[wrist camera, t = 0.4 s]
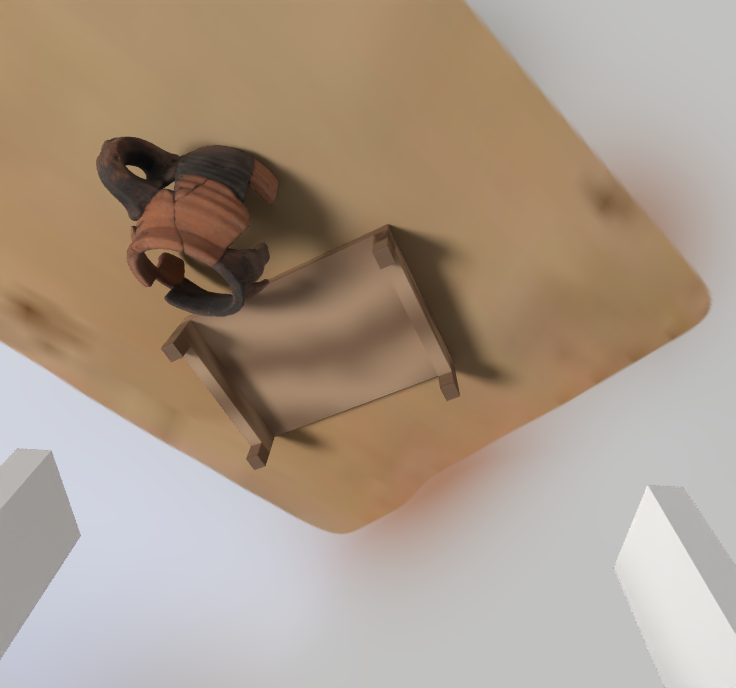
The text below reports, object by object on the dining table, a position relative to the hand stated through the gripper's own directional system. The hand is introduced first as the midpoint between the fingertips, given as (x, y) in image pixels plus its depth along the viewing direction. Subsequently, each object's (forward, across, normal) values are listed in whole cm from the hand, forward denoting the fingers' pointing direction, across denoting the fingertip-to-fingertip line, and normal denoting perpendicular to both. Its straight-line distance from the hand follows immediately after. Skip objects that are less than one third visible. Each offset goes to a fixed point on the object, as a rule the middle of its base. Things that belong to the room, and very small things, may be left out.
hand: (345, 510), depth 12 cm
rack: (+26, -4, -10) cm, 28 cm away
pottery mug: (+27, -11, +2) cm, 29 cm away
